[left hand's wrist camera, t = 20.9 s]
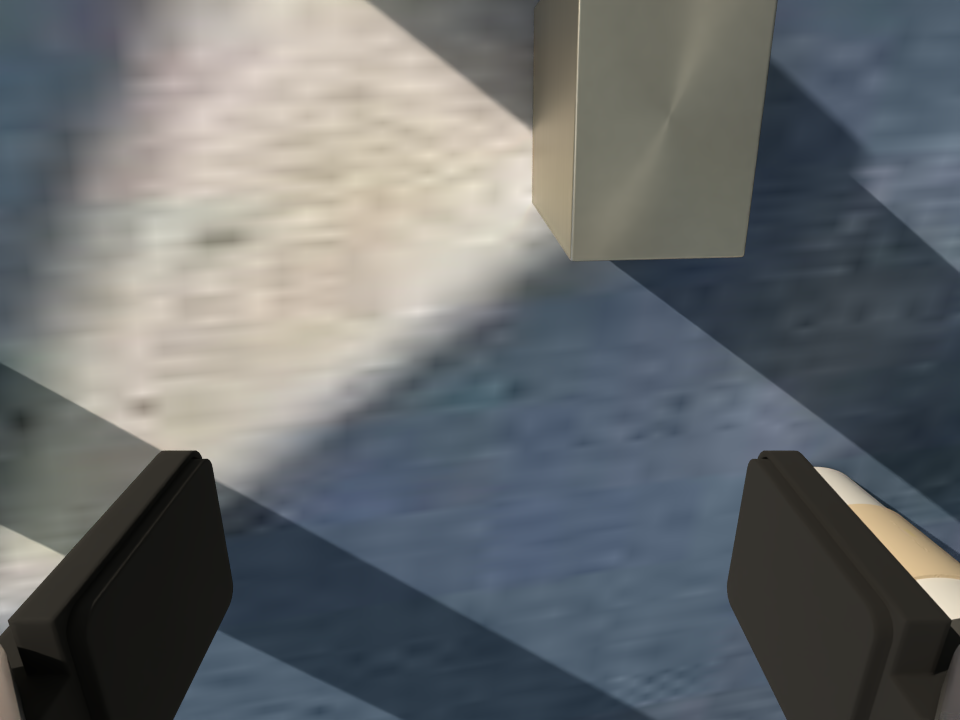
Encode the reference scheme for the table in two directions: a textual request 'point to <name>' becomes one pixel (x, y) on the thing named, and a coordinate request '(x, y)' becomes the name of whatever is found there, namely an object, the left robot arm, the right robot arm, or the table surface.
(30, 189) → the table surface
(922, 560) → the coffee cup
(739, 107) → the brick
